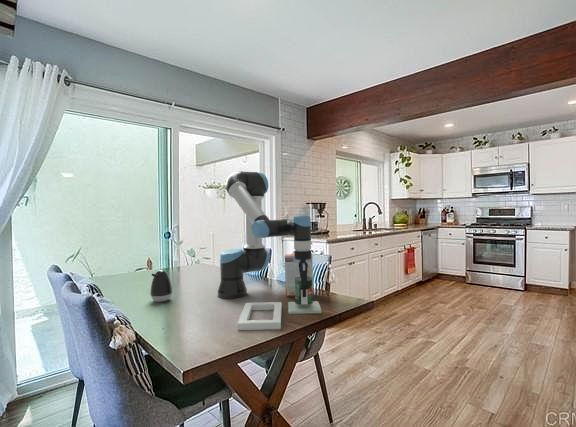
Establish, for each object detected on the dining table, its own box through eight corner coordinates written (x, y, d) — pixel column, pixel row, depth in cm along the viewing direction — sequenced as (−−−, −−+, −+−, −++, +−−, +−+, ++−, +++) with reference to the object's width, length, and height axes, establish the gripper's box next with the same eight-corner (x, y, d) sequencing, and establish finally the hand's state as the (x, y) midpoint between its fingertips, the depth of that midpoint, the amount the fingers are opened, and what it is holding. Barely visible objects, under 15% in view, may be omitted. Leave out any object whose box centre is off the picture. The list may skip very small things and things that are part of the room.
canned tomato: (307, 306, 137) (306, 280, 137) (291, 304, 141) (291, 279, 141) (315, 301, 144) (315, 277, 144) (300, 299, 148) (300, 275, 148)
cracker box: (313, 293, 167) (312, 253, 167) (313, 296, 161) (312, 255, 161) (286, 293, 168) (285, 253, 168) (285, 296, 162) (284, 255, 162)
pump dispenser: (145, 302, 158) (144, 271, 158) (162, 297, 167) (161, 267, 167) (160, 304, 153) (159, 273, 153) (176, 299, 162) (176, 269, 162)
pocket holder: (237, 330, 118) (237, 323, 118) (245, 308, 144) (245, 302, 144) (280, 329, 119) (280, 322, 118) (281, 307, 145) (281, 302, 144)
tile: (288, 313, 136) (288, 311, 136) (288, 304, 150) (288, 301, 150) (321, 313, 136) (321, 310, 136) (318, 303, 150) (318, 301, 150)
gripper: (313, 253, 132) (314, 308, 132) (309, 247, 153) (310, 294, 153) (295, 253, 132) (296, 308, 132) (293, 247, 153) (294, 295, 153)
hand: (303, 301), depth 143 cm, fingers closed on canned tomato, 8 cm apart
